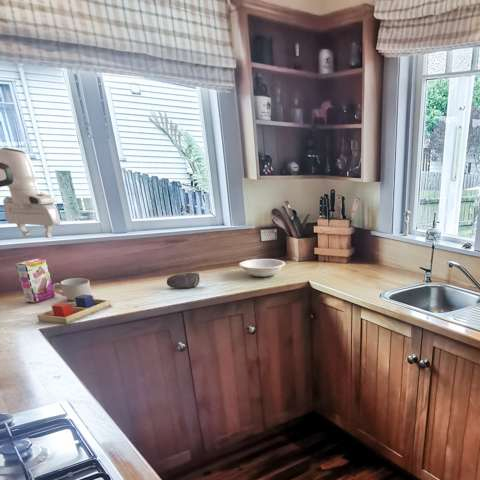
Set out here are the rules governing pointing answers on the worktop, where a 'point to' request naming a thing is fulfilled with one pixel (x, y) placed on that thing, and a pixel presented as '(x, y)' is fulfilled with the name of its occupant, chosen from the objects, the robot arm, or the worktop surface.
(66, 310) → the red block
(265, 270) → the soup bowl
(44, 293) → the candy bar box
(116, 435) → the worktop surface
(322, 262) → the worktop surface
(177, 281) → the perforated stone tool
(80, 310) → the tray
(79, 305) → the navy block
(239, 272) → the worktop surface
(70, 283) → the teacup
